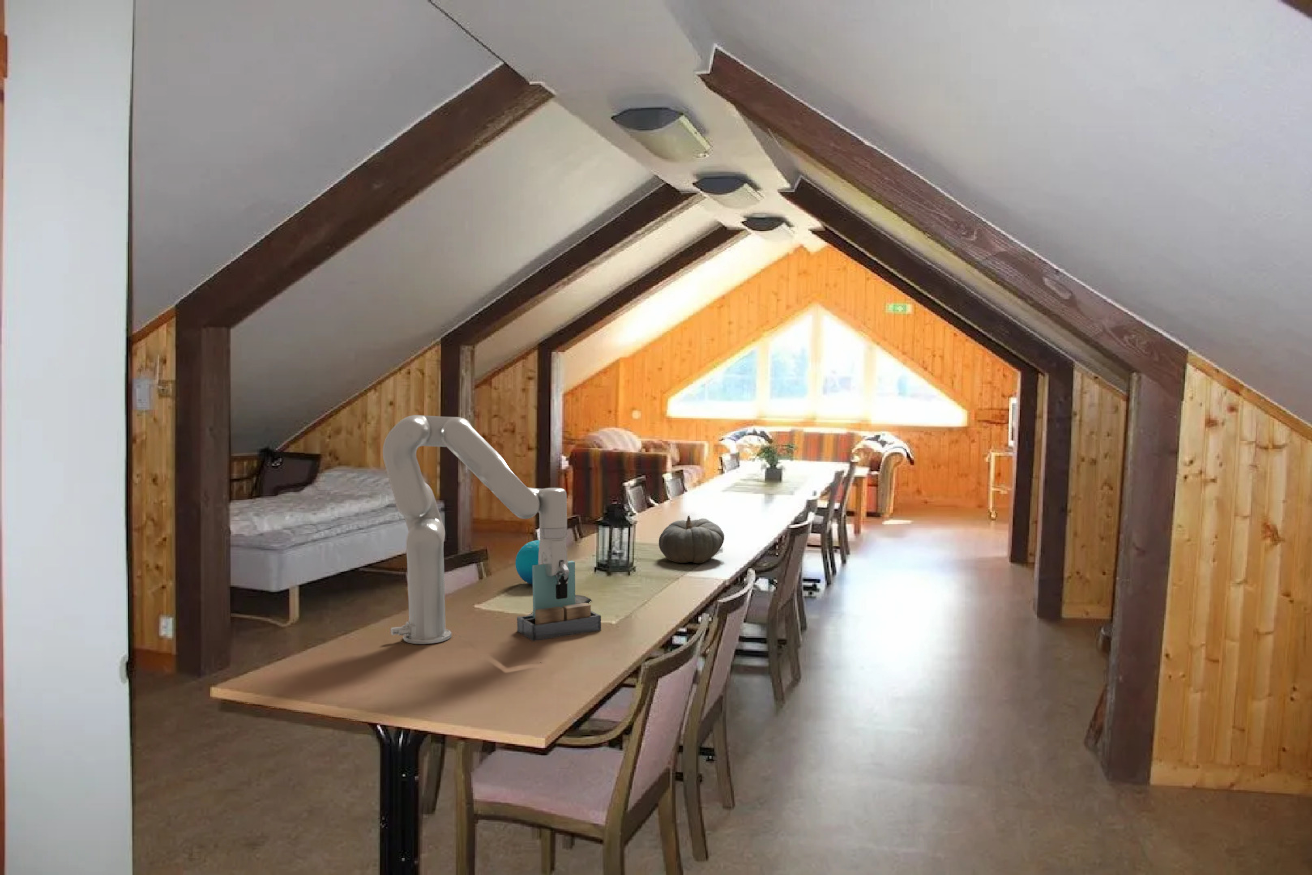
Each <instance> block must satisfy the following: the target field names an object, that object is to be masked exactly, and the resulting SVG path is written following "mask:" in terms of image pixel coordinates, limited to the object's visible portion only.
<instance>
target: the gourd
mask: <svg viewBox="0 0 1312 875" xmlns="http://www.w3.org/2000/svg"><path fill="white" fill-rule="evenodd" d="M724 541H725V534H724V532H723V530H722V528H721V526H719V525H718V524H717V523H714V522H712V521H711V520H709V519H707V518H699V519H691V517H690V515H687V518H686V520H683V519H682V520H675V521H673V522H671V523H670V524H669V525H668V526H666V527H665V528H664V530H662V532H661V533H660V536H659V537H658V546H659V550H660V551H661V553H662V554H663V556H664V557H665V558H666V559H667V560H669V561H670V562H674V563H680V564H687V563H689V562H692V563H694V564H702V563H706V562H707V561H708V560H710V559H712V558H713V557H714V556H715V555H716V554H717V553H718V552H720V550H721V548H722V547H723V544H724Z"/></svg>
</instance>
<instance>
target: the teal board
mask: <svg viewBox="0 0 1312 875" xmlns="http://www.w3.org/2000/svg"><path fill="white" fill-rule="evenodd" d="M568 569H569V575H568V584H567V598H563V599H556V584H557V582H556V578H555V575H554V576H553V577H550V576H548V575H546V565H544V564H540V565H532V573H533V585H532V612H533V618H535V610H539V609H546V608H553V607H561V608H563V606H567V605H574V604H575V595H576V561H574V560H568ZM560 578H561V577H559V579H560Z"/></svg>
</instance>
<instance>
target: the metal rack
mask: <svg viewBox="0 0 1312 875" xmlns="http://www.w3.org/2000/svg"><path fill="white" fill-rule="evenodd" d="M528 615H529V614H528ZM528 615H523V616H520V615H519V616H516V623H517V624H516V628H517V629H516V630H517V632H518V633H519V634H520V635H523V636H524V637H525V638H528V639H529V640H531V641H533V642H536V641H542V640H543V641H544V640H549V639H554V638H560V637H567V636H573V635H574V636H575V635H579V634H586V633H591V632H593V633H594V632H599V631H602V616H601V615H600V614H599V613H596V612H594V611H592V610H591V616H590V617H583V618H577V619H570V620H563V621H557V622H550V623H543V624H537V625H535V618H533V615H529V616H528Z"/></svg>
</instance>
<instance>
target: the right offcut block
mask: <svg viewBox="0 0 1312 875" xmlns="http://www.w3.org/2000/svg"><path fill="white" fill-rule="evenodd" d="M591 606H592V605H591V604H590V603H588V604H587V603H581V604H574V605H567V606H563V609H564V620H570V619H577V618H583V617H590V616H591V611H592V610H591V609H592V608H591Z"/></svg>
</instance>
